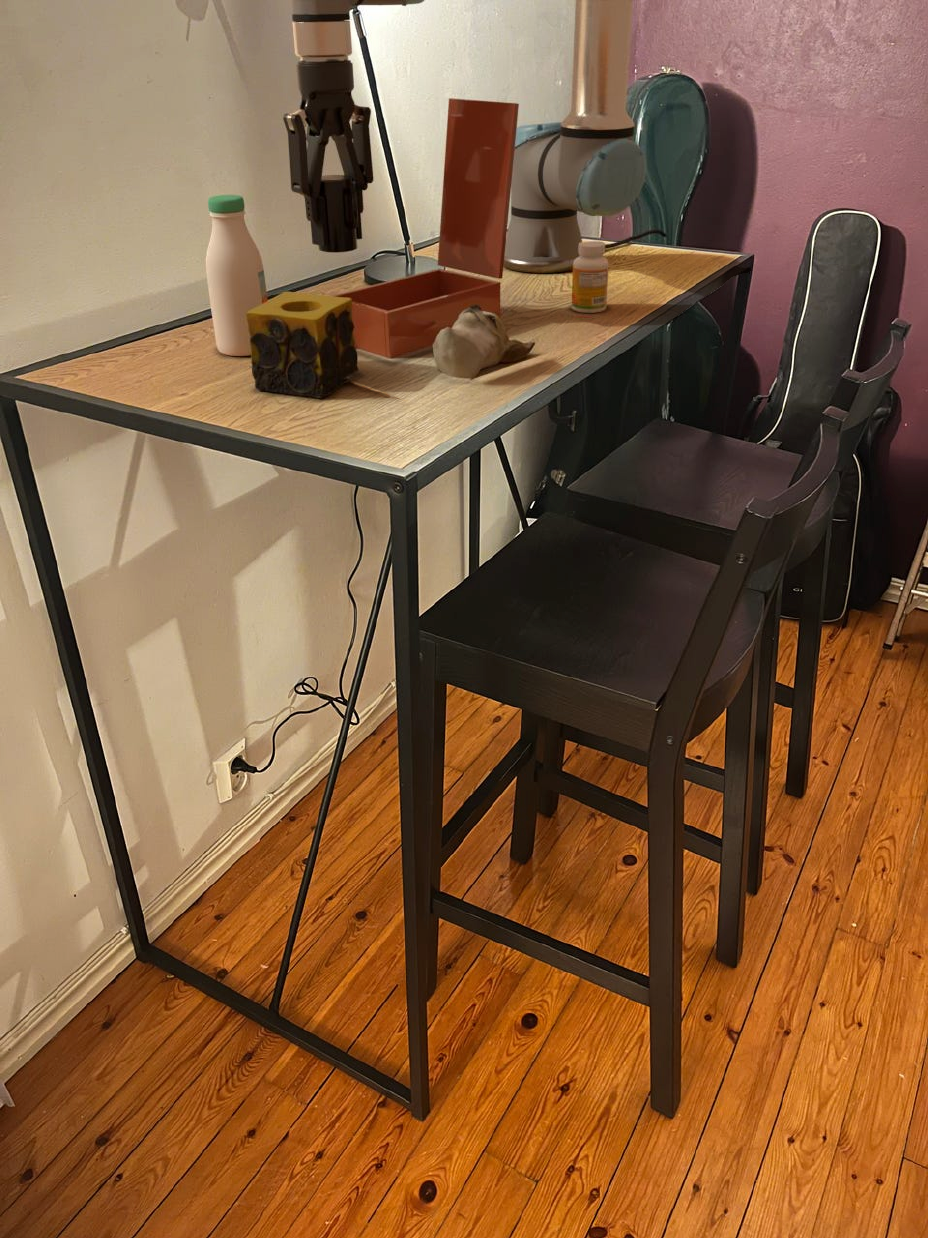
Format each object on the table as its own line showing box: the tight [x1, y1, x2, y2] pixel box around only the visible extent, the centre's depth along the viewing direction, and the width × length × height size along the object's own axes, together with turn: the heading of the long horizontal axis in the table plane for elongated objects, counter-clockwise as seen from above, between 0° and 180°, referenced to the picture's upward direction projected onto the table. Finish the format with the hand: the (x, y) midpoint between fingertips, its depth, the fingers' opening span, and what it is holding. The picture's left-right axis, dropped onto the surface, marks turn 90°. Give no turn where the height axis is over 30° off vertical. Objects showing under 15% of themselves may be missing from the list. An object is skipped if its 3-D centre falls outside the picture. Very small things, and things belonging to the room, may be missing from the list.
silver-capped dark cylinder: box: [317, 174, 358, 254], centre depth 144 cm, size 8×6×10 cm
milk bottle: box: [205, 194, 269, 357], centre depth 137 cm, size 8×8×20 cm
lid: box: [437, 97, 520, 280], centre depth 144 cm, size 22×13×1 cm
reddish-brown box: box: [331, 268, 501, 360], centre depth 144 cm, size 22×13×7 cm, turn 135°
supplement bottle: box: [571, 240, 610, 314], centre depth 155 cm, size 5×5×10 cm
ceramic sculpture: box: [432, 305, 536, 381], centre depth 131 cm, size 11×9×15 cm
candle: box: [246, 291, 359, 399], centre depth 127 cm, size 10×10×10 cm
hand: (337, 240), depth 147 cm, fingers closed on silver-capped dark cylinder, 6 cm apart
